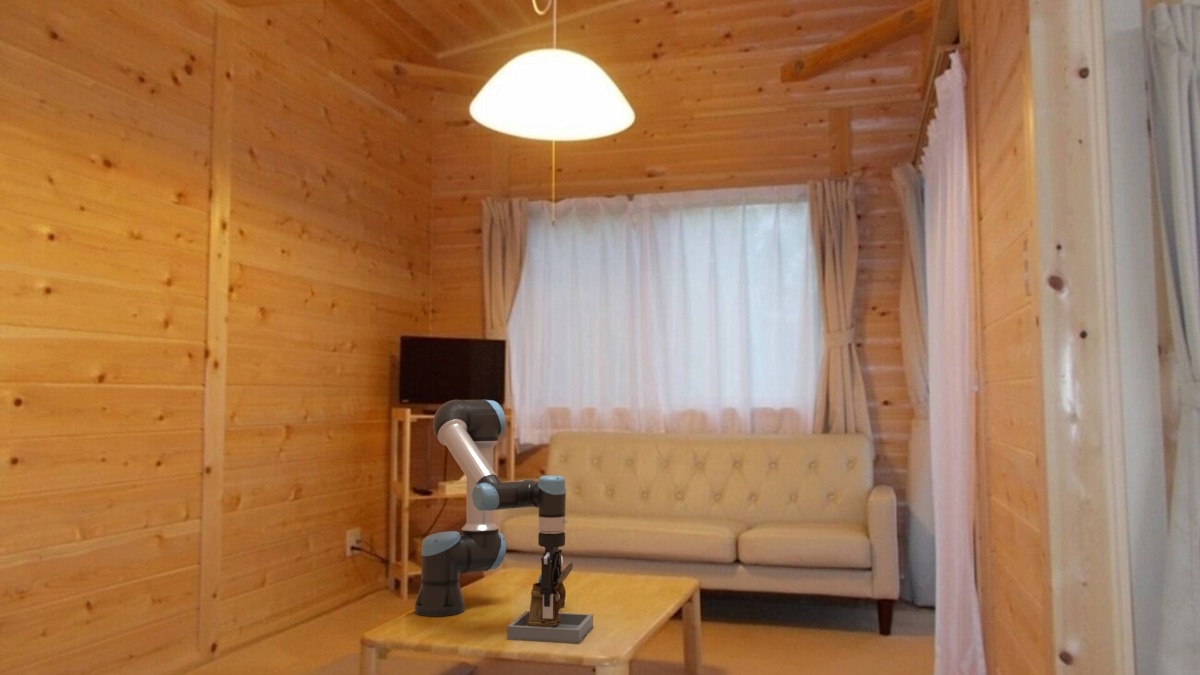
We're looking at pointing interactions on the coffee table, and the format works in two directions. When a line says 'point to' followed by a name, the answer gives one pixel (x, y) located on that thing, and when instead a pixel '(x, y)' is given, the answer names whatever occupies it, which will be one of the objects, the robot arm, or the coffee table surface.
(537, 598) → the wooden mug
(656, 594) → the coffee table surface
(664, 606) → the coffee table surface
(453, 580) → the robot arm
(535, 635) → the slate tray
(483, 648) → the coffee table surface
